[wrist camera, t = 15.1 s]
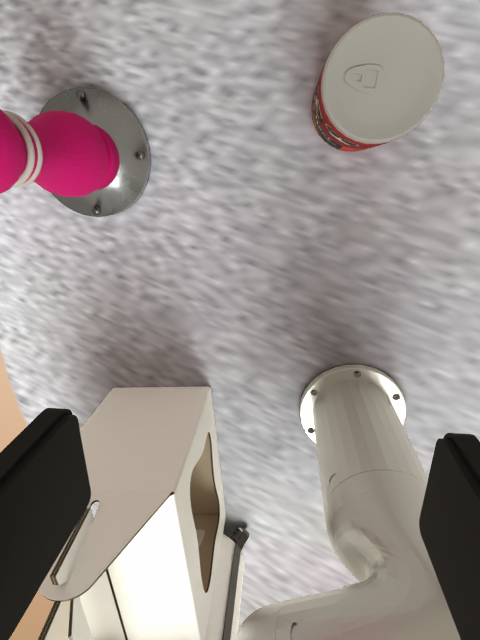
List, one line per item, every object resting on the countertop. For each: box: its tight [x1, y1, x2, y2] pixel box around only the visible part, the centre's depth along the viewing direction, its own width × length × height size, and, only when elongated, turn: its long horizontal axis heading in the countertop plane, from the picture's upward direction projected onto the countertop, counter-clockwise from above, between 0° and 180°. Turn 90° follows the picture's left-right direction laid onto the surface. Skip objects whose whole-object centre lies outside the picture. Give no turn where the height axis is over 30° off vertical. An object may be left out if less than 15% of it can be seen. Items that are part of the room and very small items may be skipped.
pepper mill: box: [0, 109, 120, 197], centre depth 29 cm, size 7×7×20 cm
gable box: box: [38, 386, 226, 640], centre depth 40 cm, size 22×13×28 cm, turn 5°
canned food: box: [312, 13, 444, 151], centre depth 30 cm, size 8×8×11 cm
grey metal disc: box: [40, 88, 151, 217], centre depth 39 cm, size 12×12×2 cm
